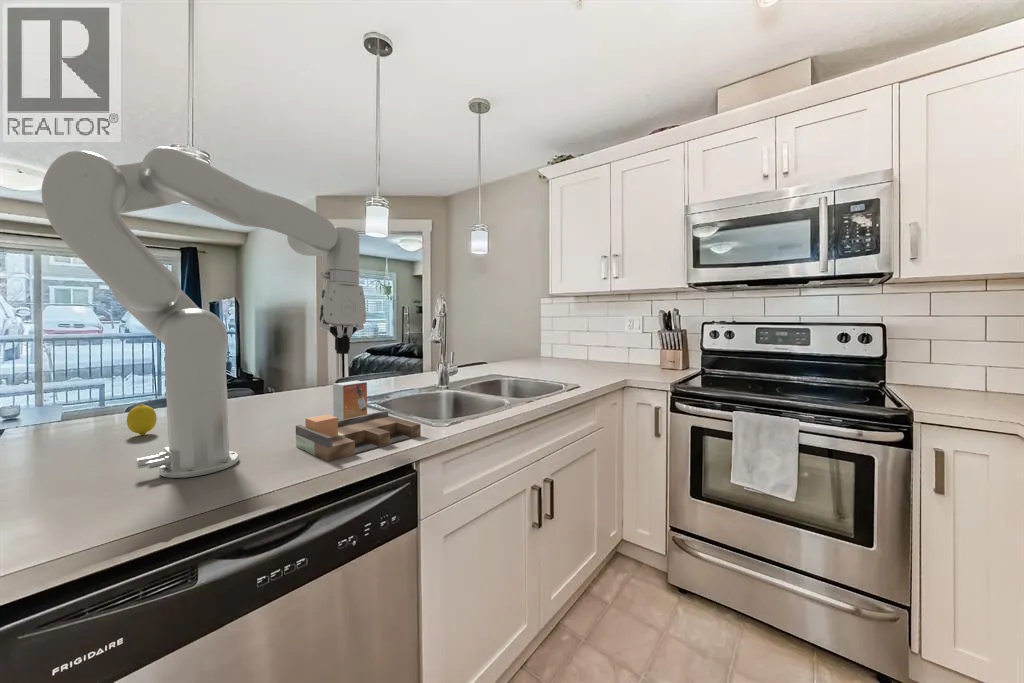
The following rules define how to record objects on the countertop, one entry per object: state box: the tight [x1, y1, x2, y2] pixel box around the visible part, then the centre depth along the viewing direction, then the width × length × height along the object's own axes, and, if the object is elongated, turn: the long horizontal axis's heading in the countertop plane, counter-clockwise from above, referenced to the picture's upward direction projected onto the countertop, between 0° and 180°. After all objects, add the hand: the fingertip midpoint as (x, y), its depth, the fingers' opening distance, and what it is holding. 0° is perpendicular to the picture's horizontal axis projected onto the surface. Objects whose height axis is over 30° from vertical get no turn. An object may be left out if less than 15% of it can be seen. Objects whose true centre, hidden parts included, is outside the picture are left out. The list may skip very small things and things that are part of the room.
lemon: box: [126, 403, 158, 436], centre depth 102 cm, size 6×6×8 cm
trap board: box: [295, 410, 422, 463], centre depth 98 cm, size 24×15×5 cm, turn 141°
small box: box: [332, 380, 368, 420], centre depth 121 cm, size 8×6×10 cm
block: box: [304, 413, 338, 436], centre depth 93 cm, size 5×5×4 cm
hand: (342, 353), depth 100 cm, fingers closed
